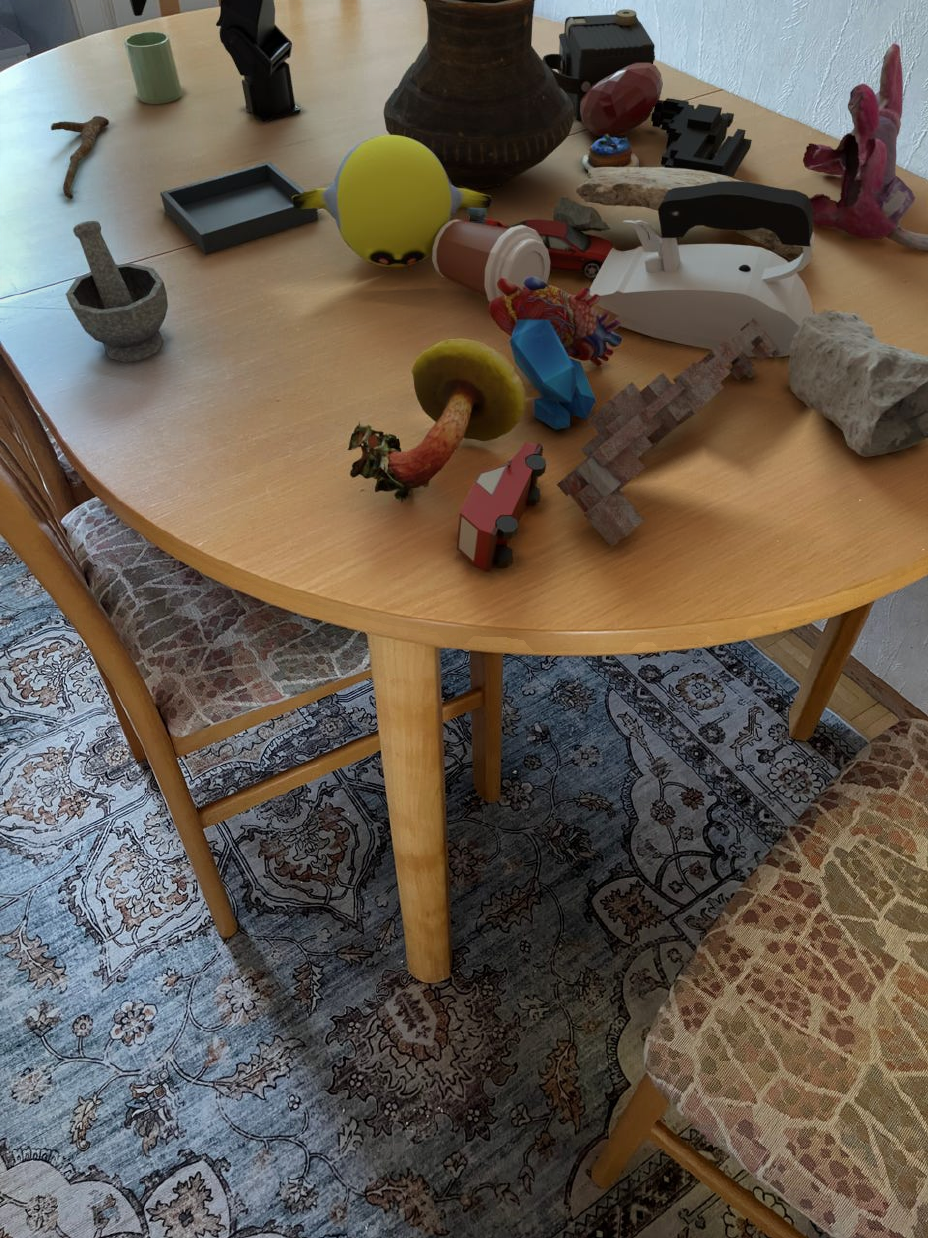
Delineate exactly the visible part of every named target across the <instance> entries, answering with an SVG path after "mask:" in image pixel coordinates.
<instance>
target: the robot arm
mask: <svg viewBox="0 0 928 1238" xmlns="http://www.w3.org/2000/svg"><path fill="white" fill-rule="evenodd" d="M147 1H148V0H129V4H130V7H131V10H132V13H133V15H134V17H141V16H143V13H144V10H145V7H146V4H147ZM219 6H220V7H219V8H220V9H219V11H220V14H219V17H218V19H217V21H216V22H215V26H216V27H220V28H219V39H220V42H221V44H222V45H223V47H224V49H225V50H226V51H227V53H228V54H229V55H230V57H231V60H232V61H233V63H234V64H235V67H236V69H237V72H238V74H239V75H240V76H242V77H243V79H242V80H241V85H242V91H243V96H244V101H245V109H246V110H247V111H248V112H250V113H251V114H252V115H253V116H254V117H256V119H258V120H259V121H260V122H268V121H272V120H275V119H280V118H284V117H287V116H290V115H294V114H298V113H301V107H299V106H298V105H297V104H296V101H295V95H294V88H293V82H292V81H293V80H292V75H291V68H290V64H289V63H288V62H286V61H287V60H288V59H290V58H291V56H292V49H293V42H292V41H291V40H290V39H289V38H288V37H287V36H286V34H285V33H284V32H283V31H282V30H281V29H280V28H279V26H277V25H276V24H275V23H276V6H275V0H220V4H219Z"/></svg>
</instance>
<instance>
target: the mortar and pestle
mask: <svg viewBox="0 0 928 1238" xmlns="http://www.w3.org/2000/svg"><path fill="white" fill-rule="evenodd" d="M72 231H73V234H74V236H75V237H76V238H77V239H78V240H79V242H80V245H81V248H82V250H83V253H84V255H85V259H86V262H87V265H88V268H89V270H90V271H89V272H87V273H85V274H83V275H80V276H79V277H76V278H75V279H74V281H73V282H72V284H71V286H70V287H69V288H68V290H67V291H66V293H65V297H66V299H67V302H68V304H69V306H70V307H69V308H70V309H71V310H72V312H73V313H74V315H75V317H76V319H77V320H78V322H79V324H80V325H81V327H82V328H83V330H84V331H85V333H86V334H88V335H89V336H90V337H91V338H92V339H93V340H95V341H97V342H98V343H101V344H103V348H104V351H105V352H106V354H107V355H108V357H109V359H112V360H116V361H119V362H123V363H129V362H136V361H142V360H145V359H148V358H150V357H151V356H152V355H154V354H157V353H158V352H159V351H160V349H161V347H162V345H163V344H164V338H163V336H162V334H161V332H160V329H161V326H162V325H163V323H164V321H165V319H166V316H167V311H168V308H169V300H168V294H167V293H168V292H167V289H166V286H165V282H164V280H163V278H161V276H160V275H159V274H158V272H157V271H156V269H155V268H154V267H149V266H145V265H140V264H137V263H131V262H127V263H126V262H125V263H119V264H117V263H116V261H115V260H114V258H113V255H112V253H111V251H110V249H109V247H108V245H107V243H106V240H105V238H104V237H103V235H102V226H101V223H100V222H99V221H98V220H87V221H82V222H80V223H78V224H76V225H75V226H74V227H73V229H72Z"/></svg>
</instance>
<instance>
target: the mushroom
mask: <svg viewBox="0 0 928 1238" xmlns="http://www.w3.org/2000/svg"><path fill="white" fill-rule="evenodd" d="M411 374H412V378H413V387H414V391H415V396H416V398H417V401H418V403H419V405H420V407H421V409H422V411H423V412H424V414H426V415H427V417H429V418H430V419H431V420H433V421H434V422H435V423H434V424H433V426H432V427H431V428H430V429H429V431H428V432H427V434H426V435H425V437H424V438H423V440H422V441H421V442H420V443H419V444H418V445H417V446H416V447H414V448H412V449H409V450H407V451H402V448H401V441H400V438H397V435H396V434H391V433H385V432H384V431H382V430H376V429H373V428H372V427H373V426H372V425H371V426H370V424H367V425H362V424H361V422H360V421H358V425H356V427H354V430H353V432H352V433H351V434H350V435H351V436H350V439H349V444H348V448H347V451H353V450H356V449H358V448H360V449H361V457H360V458H359V459H357V460H356V461H354V462H352V465H351V469H350V473H349V476H350V477H351V478H357V477H358V476H362V478H364V479H365V480H369V479H371V478H373V479H374V480H376V483H375V485H374V492H375V493H379V492H387V493H388V492H389V493H391V492H394V491H396V492H395V493H394V495H393V496H394V497H395V500H397V501H400V503H401V504H404V502H405V501H406V500H407V498H410V493H411V490H412V489H419V488H420V487H422V486H423V487H424V488H428V487H429V486H430V481H431V480H432V479H433V478H434V477H435V476H436V475H438V474H439V472H441V470H442V469H444V467H445V465H446V464H447V463H448V462H449V461H450V460H451V458H452V456H453V455H454V454H455V452H456V451H457V450H458V448H459V446H460V445H461V443H462V441H463V439H465V440H477V441H480V442H487V441H492V440H496V439H498V438H499V437H502V436H505V435H506V434H508V433H509V432H511V431H512V430H513V429H514V428H515V426H517V424H518V423H519V422H520V420H521V419H522V416H523V414H524V411H525V409H526V405H527V401H526V397H527V395H526V387H525V385H524V381H523V379H522V378H521V376H519V374H518V373H517V372H516V369H515V365H514V364H513V363H512V362H511V361H510V359H509V358H508V357H507V356H505V355H504V354H503V353H502V352H501V351H498V349H495V348H493V347H491V346H489V345H487V344H485V343H483V342H481V341H477V340H473V339H470V338H461V337H460V338H459V337H458V338H448V339H443V340H441V341H439V342H438V343H435V344H433V345H432V346H431V347H429V348H427V349H425V350H423V352H421V353H420V355H419V356H418V357H417V358H416V359H415V362H414V364H413V365H412V369H411ZM384 433H385V434H384Z"/></svg>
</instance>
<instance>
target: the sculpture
mask: <svg viewBox="0 0 928 1238" xmlns="http://www.w3.org/2000/svg"><path fill="white" fill-rule="evenodd" d="M740 330H741V332H740V333H739V334H738V335H736V336H735V337H734V338H733V339H732V338H731V336H729V337H727V338H726V339H725V340H724V341H723V342H721V343H720V344H719V345H718V346H717V347H715V348H714V349H713V350H711V351H709V352H708V353H707V354H705V356H704V357H703V358H701V359H700V360H699V361H698V362H697V363H696V362H695V361H693V362H691V364H690V365H688V366H687V367H686V368H685V369H684V370H683V371H681V372H680V373H679V374H678V375H676V376H675V377H674V378H673V379H672V381H673V382H674V384H673V383H672V382H671V381H670V379H669V378H668V377H667V376H666V375H665V374H664V372H662V373H660V374H659V375H658V376H656V378H654V379H653V380H652V381H650V382H649V383H648V384H647V385H646V386H644V388H642V389H641V390H639V387H637V386H636V384H635V383H634V382H633V381H631V382H630V383H628V384H627V385H626V386H624V387H623V388H622V389H621V390H620V391H619V392H617V393H615V395H613V396H612V397H611V398H610V399H609V400H607V401H606V402H605V404H603V405H602V406H601V407H600V408H599V409H598V410H597V411H596V412H595V413H594V414H593V415H592V416H591V417H589V418H588V419H587V421H588V423H589V424H590V425H591V426H592V427H593V429H594V430H595V431H596V432H597V434H596V435H595V436H594V437H593V438H591V439H590V440H589V441H588V442H587V443H586V444H585V445H583V447H581V448H580V451H582V453H583V454H584V455H585V456H586V457H587V458H585V459H584V460H583V461H582V462H581V463H580V464H578V465H577V466H576V467H575V468H574V469H572V470H571V471H570V472H569V473H567V474H566V475H565V476H564V477H563V478H562V479H560V481H558V482H556V486H557V487H558V488H559V489H560V491H561V493H563V495H565V497H568V496H570V498H571V499H572V500H573V501H574V502H575V504H576V505H577V506H578V507H579V508H580V510H581V511H582V512H583V515H584V516H585V518H586V519H587V520H588V521H589V522H590V524H591V525H592V526H593V527H594V528H595V529H596V531H597V532H598V533H599V534H600V536H601V537H602V538H603V539H604V540H605V542H606V543H607V544H608V545H609V546H610V548H612V547H614V546H615V545H617V544H618V543H620V542H621V541H623V540H624V539H626V538H627V537H628V536H629V535H630V534H631V533H633V532H634V531H635V529H637V528H638V526H640V525H641V524H642V523H643V522H644V521H645V519H644V517H643V516H642V515H641V514H640V512H639V511H638V510H637V509H636V508H635V507H634V506H633V504H632V503H631V502H630V500H629V499H628V498H627V497H626V496H625V495H624V493H622V491H621V489H623V488H624V487H625V486H626V485H628V484H629V483H630V482H631V481H632V480H633V479H634V478H635V477H637V476H638V475H639V474H640V473H641V472H642V471H643V470H644V469H645V468H646V466H645V465H644V464H643V462H642V461H641V460H640V457H641V456H642V455H643V454H645V452H647V451H648V450H649V449H650V448H651V447H653V442H654V444H655V445H657V444H658V443H659V442H661V441H662V440H663V439H665V438H666V437H667V436H669V435H670V434H671V433H672V432H673V431H674V430H675V429H677V428H678V427H680V426H681V425H682V424H683V423H685V422H686V421H687V420H688V419H690V418H691V417H692V416H693V415H695V414H696V413H697V412H698V411H699V410H701V409H702V408H703V407H704V406H705V405H706V404H707V403H709V401H710V400H711V399H713V398H714V397H715V396H716V395H717V394H718V393H720V392H721V391H722V390H723V389H724V388H725V386H723V384H722V383H721V382H722V381H723V380H725V378H727V377H728V376H729V375H730V374H732V375H733V377H734V378H735V380H736V381H739V380H740V379H741V378H742V377H744V376H745V375H746V376H747V377H748V379H751V378H753V377H754V376H755V375H756V374H757V373H756V372H755V370H754V369H753V368H754V367H755V364H754V363H753V362H752V361H751V359H750V357H747V356H746V355H745V353H744V352H743V351H742V349H744V348H745V347H746V346H747V345H748V344H749V343H750V342H751V343H752V345H753V346H754V347H755V348H754V349H753V350H752V353H753V354H754V355H755V356H756V357H755V358H756V359H757V360H758V361H759V363H762V362H763V361H764V360H765V359H766V358H767V357H768V356H769V355H770V354H772V355H773V358H774V359H777V358H778V356H779V355H780V354H781V352H780V350H779V349H778V347H777V345H776V344H775V343H774V342H773V340H772V339H771V338H770V337H769V336H768V334H767V333H766V332H765V331H764V330H763V328H762V327H761V326H760V325H759V323H758V322H757V321H756V320H755V319H754V318H753V319H752V320H751V321H749V322H748V323H747V324H746V325H745V326H744V327H743V328H741V329H740ZM768 358H769V357H768ZM729 365H731V367H730V368H728V367H727V366H729Z"/></svg>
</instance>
